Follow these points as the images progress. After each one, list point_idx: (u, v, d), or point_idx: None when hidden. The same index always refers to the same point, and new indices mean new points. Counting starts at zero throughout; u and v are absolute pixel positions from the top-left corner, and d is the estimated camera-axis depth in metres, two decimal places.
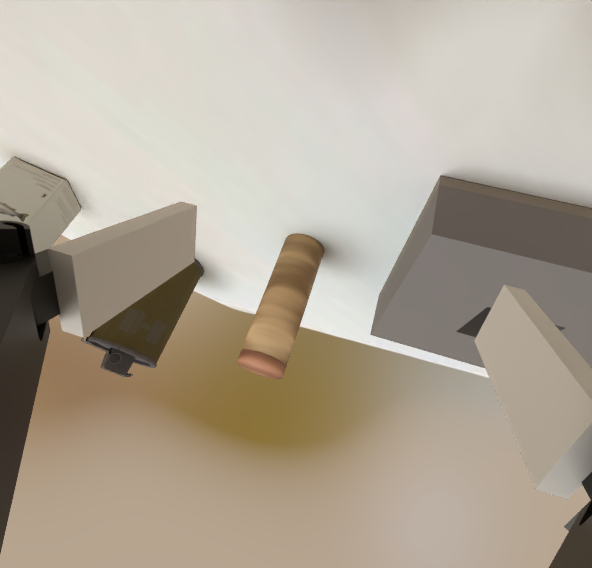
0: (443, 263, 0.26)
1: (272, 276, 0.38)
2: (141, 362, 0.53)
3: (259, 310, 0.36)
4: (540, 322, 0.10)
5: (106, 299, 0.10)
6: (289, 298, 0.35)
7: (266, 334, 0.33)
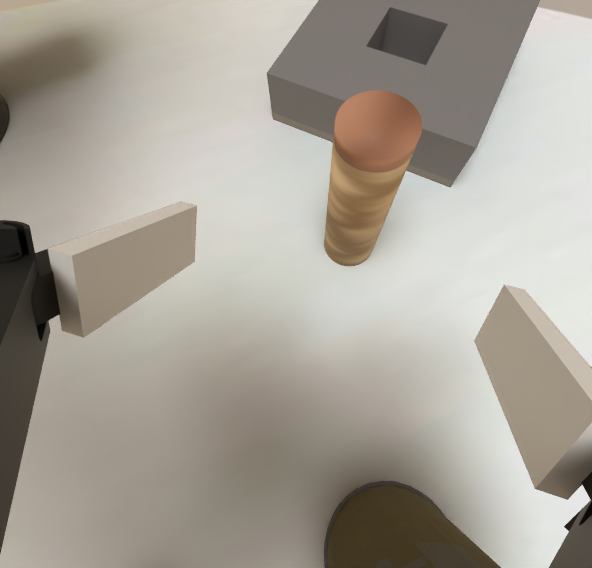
0: (302, 69, 0.34)
1: (331, 228, 0.28)
2: None
3: (333, 195, 0.24)
4: (540, 322, 0.10)
5: (106, 299, 0.10)
6: None
7: None
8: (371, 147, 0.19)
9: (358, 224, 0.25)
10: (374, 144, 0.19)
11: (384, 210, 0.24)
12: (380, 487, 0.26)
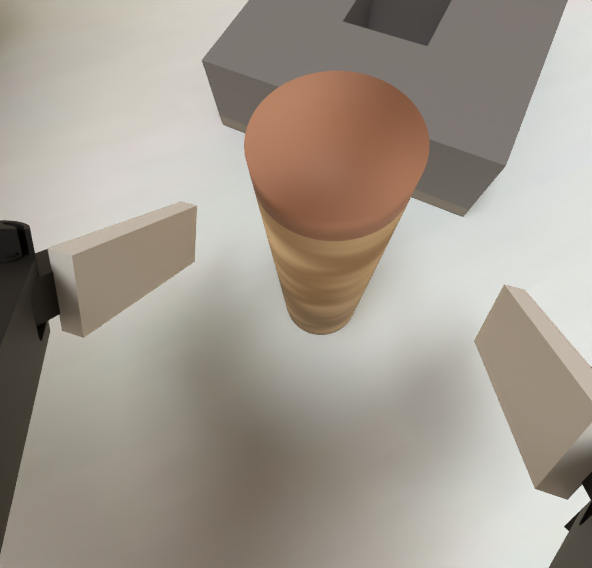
0: (252, 54, 0.24)
1: (285, 295, 0.18)
2: None
3: (274, 259, 0.14)
4: (540, 322, 0.10)
5: (106, 299, 0.10)
6: None
7: None
8: (318, 192, 0.08)
9: (321, 301, 0.15)
10: (325, 185, 0.09)
11: (362, 282, 0.14)
12: None
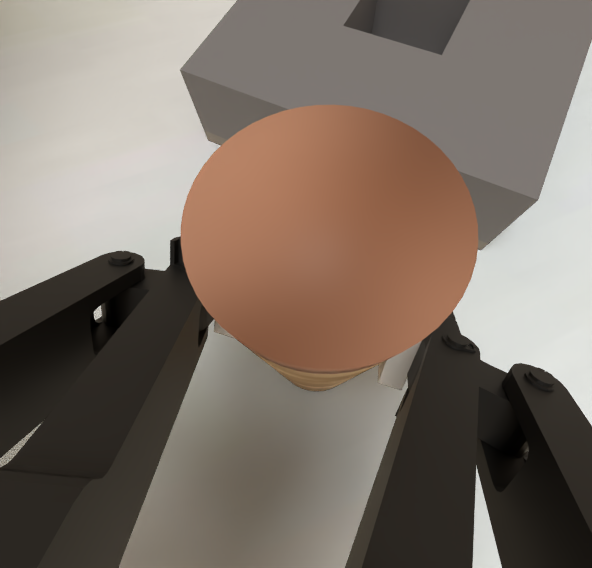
0: (238, 62, 0.21)
1: None
2: None
3: None
4: None
5: None
6: None
7: None
8: (296, 315, 0.05)
9: (312, 385, 0.12)
10: (308, 302, 0.05)
11: None
12: None
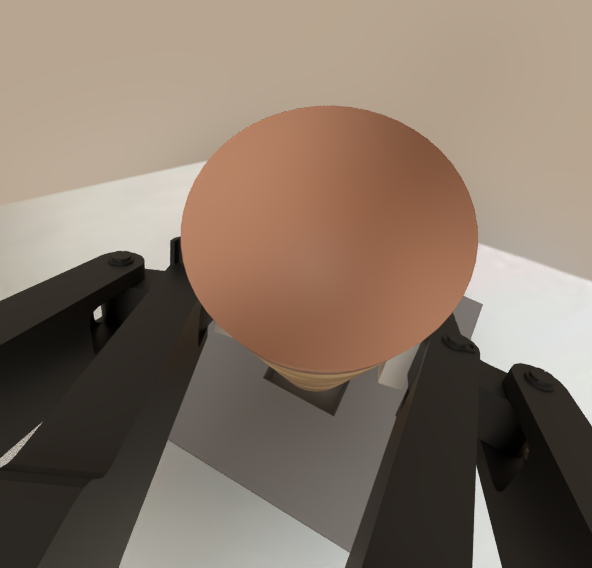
0: (181, 415, 0.27)
1: None
2: None
3: None
4: None
5: None
6: None
7: None
8: (296, 316, 0.05)
9: (312, 386, 0.12)
10: (308, 303, 0.05)
11: None
12: None
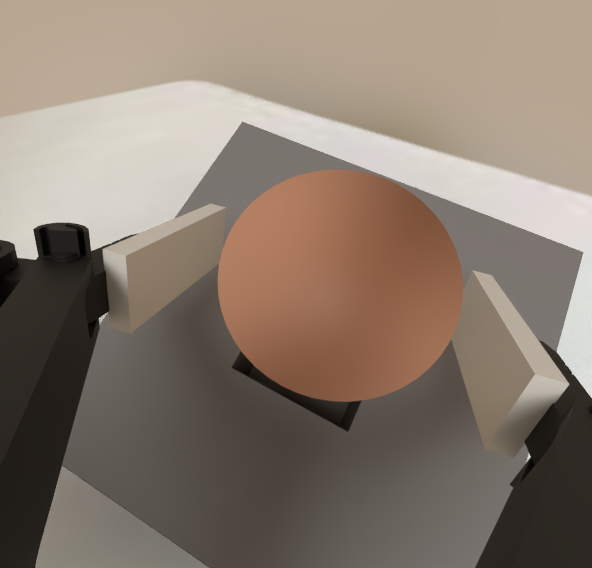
0: (94, 428, 0.16)
1: None
2: None
3: None
4: (499, 302, 0.11)
5: (150, 297, 0.11)
6: None
7: None
8: (315, 357, 0.06)
9: None
10: (325, 346, 0.06)
11: None
12: None
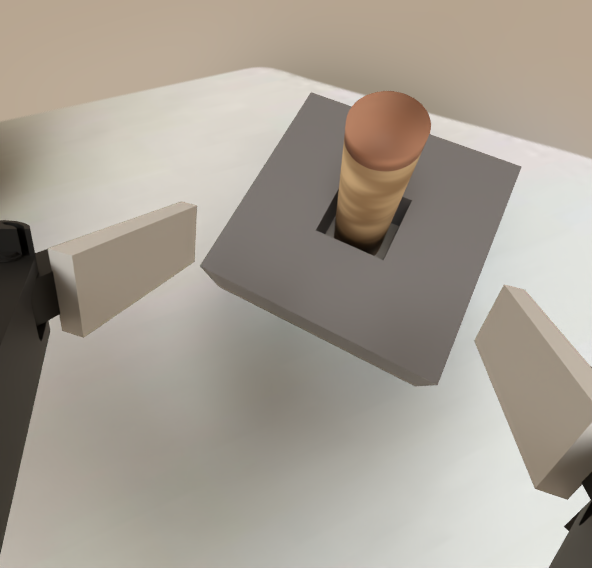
0: (241, 261, 0.30)
1: (341, 225, 0.29)
2: None
3: (343, 193, 0.25)
4: (540, 322, 0.10)
5: (106, 299, 0.10)
6: None
7: None
8: (381, 147, 0.19)
9: (368, 221, 0.26)
10: (384, 144, 0.19)
11: (393, 207, 0.25)
12: None
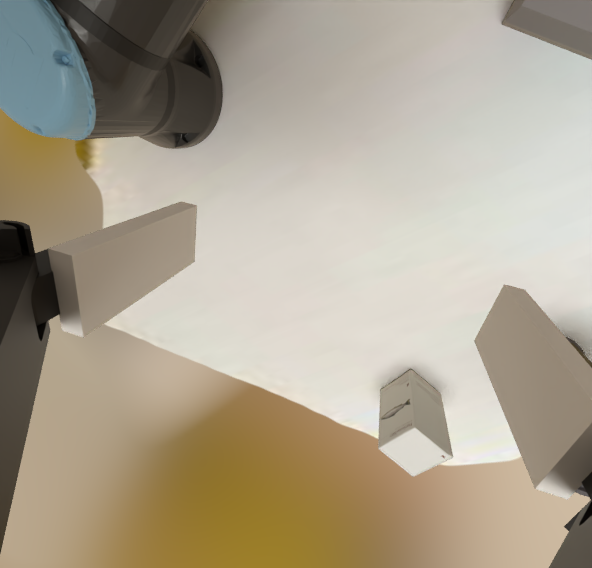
0: None
1: None
2: None
3: None
4: (540, 322, 0.10)
5: (106, 299, 0.10)
6: None
7: None
8: None
9: None
10: None
11: None
12: None
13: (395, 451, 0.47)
